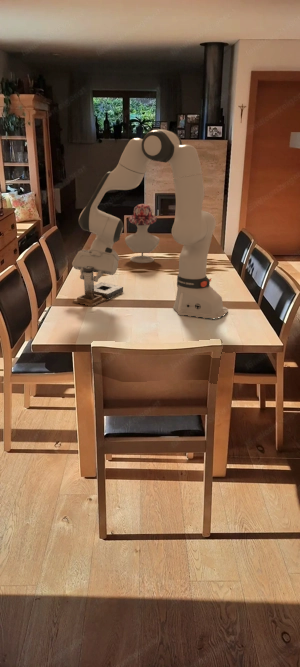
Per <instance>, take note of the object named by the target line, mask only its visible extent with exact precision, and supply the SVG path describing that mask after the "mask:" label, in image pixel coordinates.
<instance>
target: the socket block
mask: <svg viewBox="0 0 300 667" xmlns="http://www.w3.org/2000/svg"><path fill="white" fill-rule="evenodd" d="M123 293H124V287H123V286H121V285H116V284H110V283H108V282H107V283H106V282H98V283H97V284H94V294H96V295H100V296H102V298H106V300H107V299H108V300H110V299H112V298H114V297H116V296H118V295H120V294H123ZM111 297H112V298H111ZM109 298H110V299H109Z"/></svg>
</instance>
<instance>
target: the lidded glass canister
mask: <svg viewBox="0 0 300 667" xmlns="http://www.w3.org/2000/svg"><path fill="white" fill-rule="evenodd" d="M93 271H94V267H92V266H85V267H83V272H84V280H83V286H84V287H83V288H84V294H85V299H89V300H92V299H94V285H95V281H93V278H94V272H93Z"/></svg>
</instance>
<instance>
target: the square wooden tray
mask: <svg viewBox="0 0 300 667" xmlns="http://www.w3.org/2000/svg"><path fill="white" fill-rule="evenodd" d="M102 301H103V302H105V301H107V299H106V298H102V296H100V295H96V294H94V299H92V300H89V299H85V293H84V294H82V295H80V296H78V297H77V298H75V299H74V300H72V303H74V304H78V303H81V304H80V305H82V304H85V305H84V306H87V305H88V306H87V307H91V306H93V307H94V305H95V304H97V303H99V304H101V303H103V302H102ZM100 302H101V303H100ZM97 305H98V304H97ZM95 306H96V305H95Z"/></svg>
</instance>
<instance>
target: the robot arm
mask: <svg viewBox="0 0 300 667" xmlns="http://www.w3.org/2000/svg"><path fill="white" fill-rule="evenodd" d="M152 161H153V162H159V163H164V164H165V163H169V165H170V167H171V172H172V178H173V186H174V194H175V210H174V211H175V213H174V214H175V215H174V222H173V224H172V226H171V227H172V228H171V235H172V239H173V240H174V241H175V242H176V243H177V244H179V245H183V246H182V248H181V252H180V253H179V255H178V256H179V257H178V258H179V259H178V274H177V275H176V276H177V278H176V286H177V290H176V295H175V301H174V304H173V307H172V309H173V310H174V311H176V312H177V315H179V316H184V315H188V316H187V317H191V316H196V317H195V318H198V317H203V318H202V319H205V318H212V319H213V318H218V317H221V316H223V315H224V314H226V313H227V312H228V313H229V309H228V307H226V306H224V305H223V304H224V302H223V298H222V296H221V294H219V293H218V292H217V291H216V290H215V289H214V288H213V287H212V286H211V285H210V283H211V282H212V279H213V278H211V277H210V278H209V277H207V264H208V256H209V251H210V246H211V243H212V239H213V238H212V237H213V234H214V231H215V230H216V226H217V221H216V218H215V215H213V214H212V213H211V212H209V211H205V210H203V202H204V198H205V194H206V193H205V186H204V176H203V169H202V165H201V161H200V157H199V153H198V150H197V148H196V147H195V146H193V145H191V144H183V143H182V139H181V137H180V136H179V134H177V133H176V132H175V131H173V130H167V129H153V130H150V131H149V132H147V133H146V134H145V135H144V136H143V138H140V137H134V138H132V139H130V140H129V141H128V143H127V144H126V145H125V147H124V149H123V152H122V153H121V156H120V158H119V161H118V164H117V165H116V167H114V169H113V170H112V171H107V172H106V173H105V174H104V175H103V177H102V178H101V180H100V181H99V183H98V185H97V186H96V188H95V190H94V192H93V194H92V196H91V198H90V199H89V201H88V203H87V204H86V206H85V207H84V208H83V209H82V211H81V213H80V214H79V217H78V225H79V226H80V228H81V230H82V231H87V232H88V233H92V234H95V239H94V240H93V241H92V243H91V245H90V247H89V249H81V250H79V251H77V254H76V255H75V256H74V258H73V261H72V262H71V266H72V267H73V268H74V269H75V270H78V271H79V270H80V271H79V272H80V276H79V278H80V280H83V281H84V272H83V267H85V266H92V267H94V271H93V273H96V275H93V277H94V278H93V281H94V283H95V282H96V283H97V282H98V281H99V280H100V279H101V278H102V277H103V275H110V276H114V275H115V274H116V272H117V270H118V267H119V261H120V260H121V259H120V255H119V254H118V253H117V251H116V250H115V249H114V248H113V246H114V244H116V243H117V242H118V241H120V239H121V238H120V237H121V235H122V234H123V232H124V228H125V225H124V223H123V221H122V219H120V218H119V217H117V216H114V215H112V214H110V213H106V212H105V211H103V210H100V209H99V208H98V206H99V205H100V203H101V201H102V199H103V198H104V196H105V194H106V193H107V192H109V191H116V190H117V191H118V190H119V191H128V190H133V189H136V188H137V187H139V185H140V184H141V183H142V181H143V178H144V176H145V174H146V171H147V169H148V167H149V164H150V162H152ZM98 283H99V282H98ZM228 313H227V314H228ZM227 314H226V315H227ZM223 317H224V316H223ZM212 319H211V320H212Z"/></svg>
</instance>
